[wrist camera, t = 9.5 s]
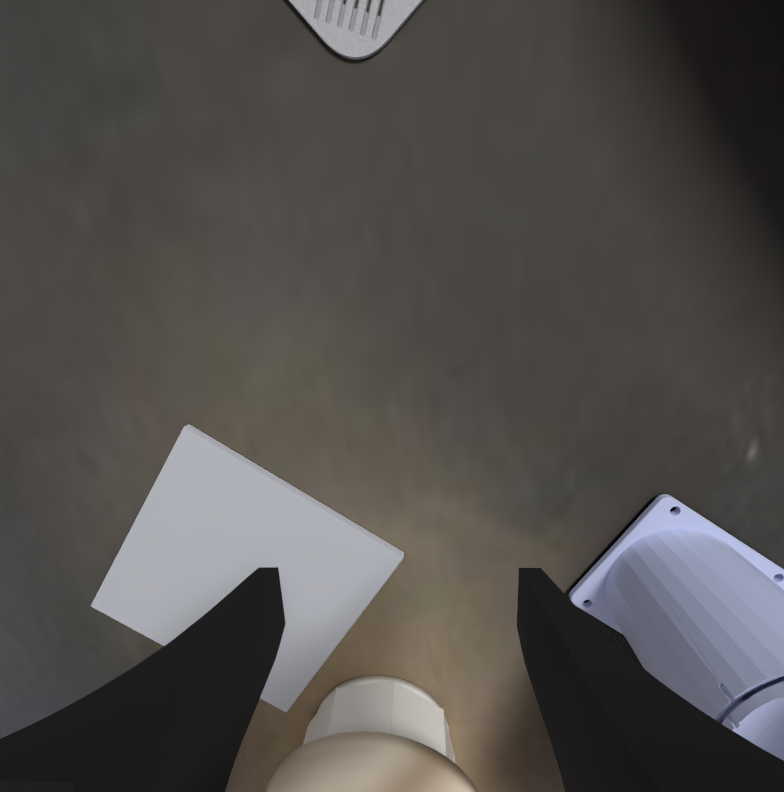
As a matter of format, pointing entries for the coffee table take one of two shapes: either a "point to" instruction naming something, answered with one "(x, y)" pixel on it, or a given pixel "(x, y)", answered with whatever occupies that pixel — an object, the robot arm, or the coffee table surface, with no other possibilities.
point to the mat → (243, 558)
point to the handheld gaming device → (355, 23)
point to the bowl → (383, 712)
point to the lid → (367, 766)
